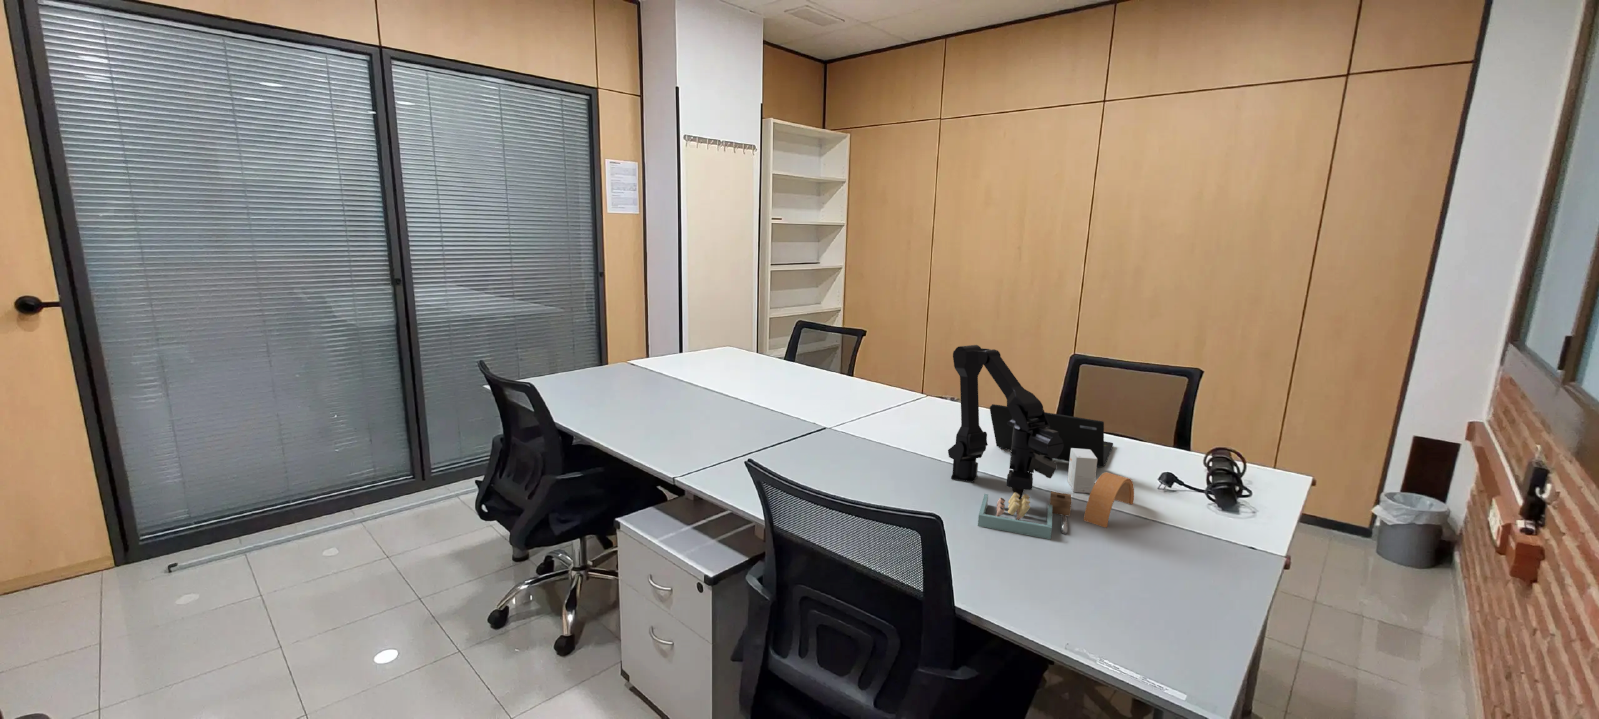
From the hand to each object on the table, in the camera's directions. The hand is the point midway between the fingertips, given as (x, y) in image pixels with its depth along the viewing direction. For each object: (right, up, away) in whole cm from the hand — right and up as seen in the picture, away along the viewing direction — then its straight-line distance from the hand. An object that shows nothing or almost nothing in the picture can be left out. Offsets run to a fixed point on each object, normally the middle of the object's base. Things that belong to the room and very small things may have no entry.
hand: (1018, 500), depth 169 cm
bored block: (+10, -2, -2) cm, 11 cm away
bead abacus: (-3, -3, -4) cm, 6 cm away
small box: (+22, +1, +13) cm, 26 cm away
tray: (-3, -3, -8) cm, 9 cm away
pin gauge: (+8, -4, -11) cm, 14 cm away
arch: (+23, -3, -2) cm, 24 cm away
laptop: (+24, +6, +40) cm, 47 cm away
